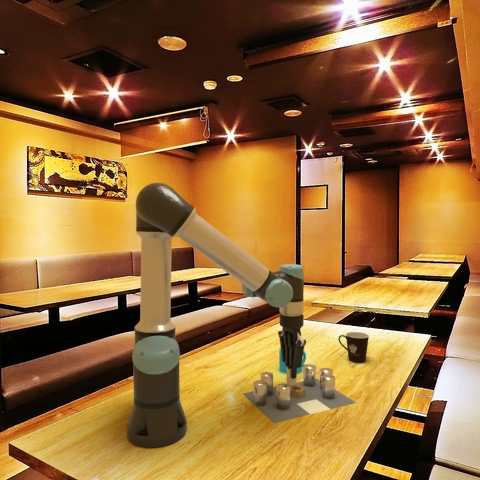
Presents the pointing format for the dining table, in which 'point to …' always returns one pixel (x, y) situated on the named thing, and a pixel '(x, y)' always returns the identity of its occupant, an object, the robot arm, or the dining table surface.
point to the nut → (297, 391)
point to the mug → (283, 367)
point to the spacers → (265, 386)
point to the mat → (301, 403)
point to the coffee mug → (356, 346)
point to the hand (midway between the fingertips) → (291, 386)
